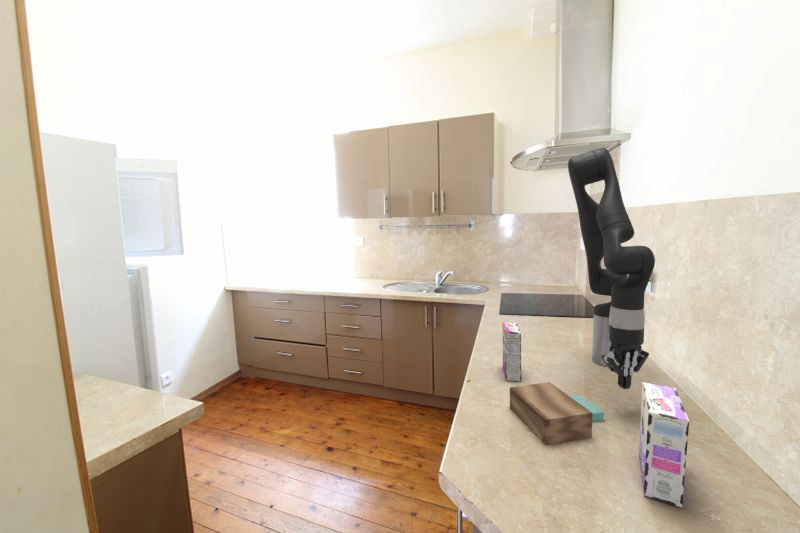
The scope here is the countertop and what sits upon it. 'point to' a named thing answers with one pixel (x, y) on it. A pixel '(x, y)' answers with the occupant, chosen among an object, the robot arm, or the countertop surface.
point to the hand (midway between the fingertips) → (624, 387)
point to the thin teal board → (590, 408)
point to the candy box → (663, 443)
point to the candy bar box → (511, 351)
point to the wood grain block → (550, 413)
